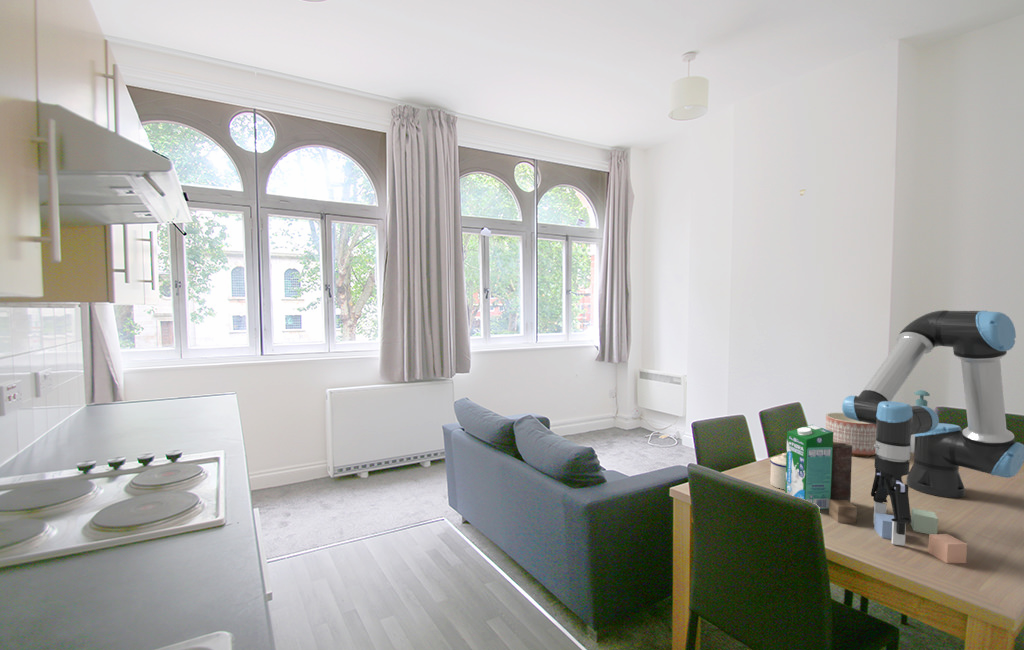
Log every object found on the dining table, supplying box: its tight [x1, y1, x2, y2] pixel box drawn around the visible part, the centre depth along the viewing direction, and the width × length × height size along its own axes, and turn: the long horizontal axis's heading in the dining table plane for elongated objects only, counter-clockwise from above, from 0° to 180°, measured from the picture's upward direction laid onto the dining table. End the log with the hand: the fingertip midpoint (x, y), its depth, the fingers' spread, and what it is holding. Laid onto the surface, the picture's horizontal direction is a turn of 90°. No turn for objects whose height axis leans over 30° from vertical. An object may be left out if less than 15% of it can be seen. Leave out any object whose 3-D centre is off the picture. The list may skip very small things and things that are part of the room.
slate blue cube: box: [874, 513, 894, 540], centre depth 130 cm, size 5×5×5 cm
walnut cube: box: [828, 499, 858, 525], centre depth 139 cm, size 5×5×5 cm
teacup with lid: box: [769, 452, 787, 491], centre depth 165 cm, size 12×9×12 cm
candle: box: [831, 442, 853, 503], centre depth 149 cm, size 8×7×20 cm
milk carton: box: [784, 424, 833, 510], centre depth 149 cm, size 9×9×25 cm
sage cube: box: [910, 507, 939, 535], centre depth 133 cm, size 5×5×5 cm
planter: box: [825, 412, 877, 457], centre depth 203 cm, size 19×19×15 cm
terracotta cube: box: [928, 533, 968, 564], centre depth 118 cm, size 5×5×5 cm
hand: (888, 534), depth 130 cm, fingers open, 11 cm apart
